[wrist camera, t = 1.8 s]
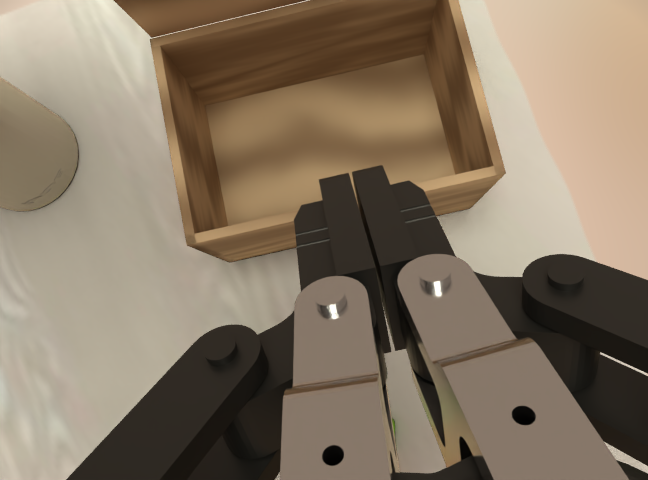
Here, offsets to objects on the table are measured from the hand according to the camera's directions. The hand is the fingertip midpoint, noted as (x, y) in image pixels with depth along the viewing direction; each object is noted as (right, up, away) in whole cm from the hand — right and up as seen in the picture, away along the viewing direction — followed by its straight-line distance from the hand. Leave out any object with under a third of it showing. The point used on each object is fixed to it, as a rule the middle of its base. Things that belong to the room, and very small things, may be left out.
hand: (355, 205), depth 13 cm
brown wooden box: (0, +6, +32) cm, 33 cm away
